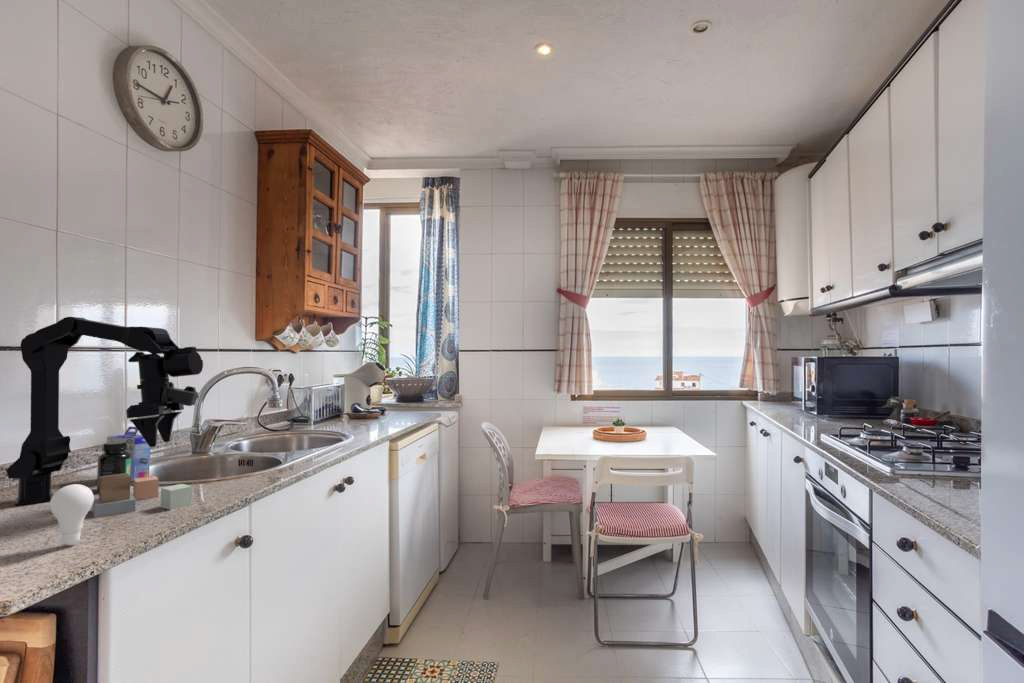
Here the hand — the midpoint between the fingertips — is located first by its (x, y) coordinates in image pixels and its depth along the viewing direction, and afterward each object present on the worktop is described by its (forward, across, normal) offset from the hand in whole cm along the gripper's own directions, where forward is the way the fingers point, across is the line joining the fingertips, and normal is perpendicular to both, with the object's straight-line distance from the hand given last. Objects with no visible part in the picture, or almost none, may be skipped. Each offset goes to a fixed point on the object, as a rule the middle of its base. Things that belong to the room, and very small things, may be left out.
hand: (160, 444), depth 122 cm
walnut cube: (+10, -5, +8) cm, 14 cm away
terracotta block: (+13, +6, +6) cm, 15 cm away
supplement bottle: (+12, +16, +16) cm, 26 cm away
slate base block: (+13, -5, +8) cm, 17 cm away
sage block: (+14, -5, -4) cm, 16 cm away
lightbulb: (+14, -28, +7) cm, 32 cm away
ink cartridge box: (+11, +28, +17) cm, 35 cm away
